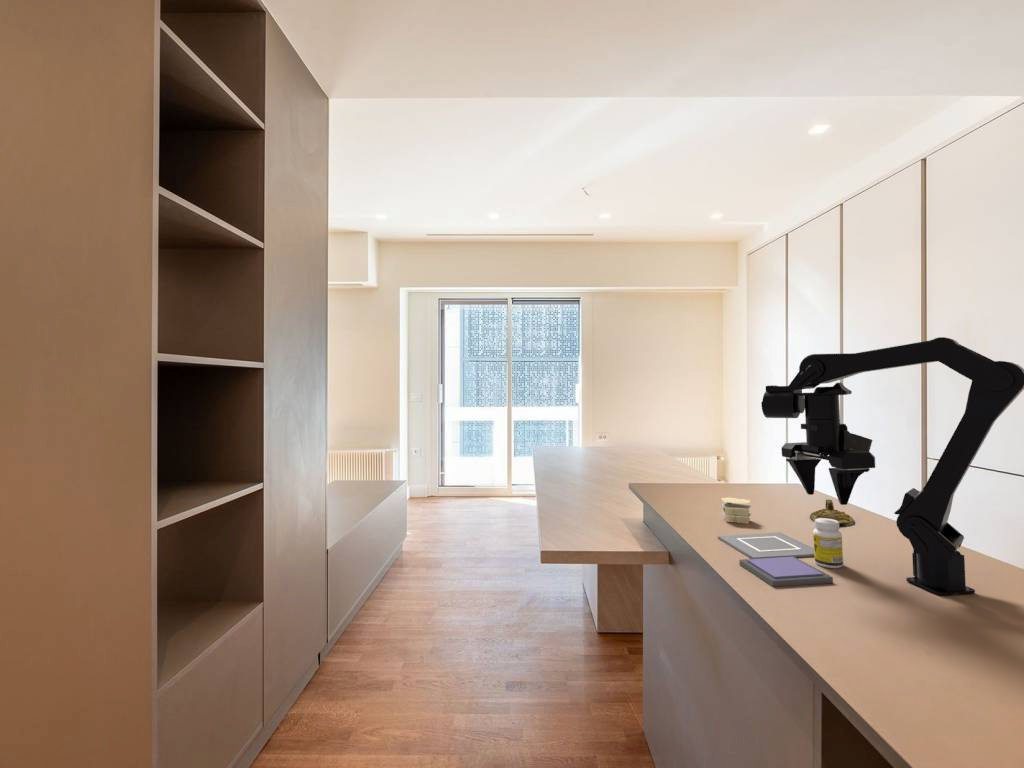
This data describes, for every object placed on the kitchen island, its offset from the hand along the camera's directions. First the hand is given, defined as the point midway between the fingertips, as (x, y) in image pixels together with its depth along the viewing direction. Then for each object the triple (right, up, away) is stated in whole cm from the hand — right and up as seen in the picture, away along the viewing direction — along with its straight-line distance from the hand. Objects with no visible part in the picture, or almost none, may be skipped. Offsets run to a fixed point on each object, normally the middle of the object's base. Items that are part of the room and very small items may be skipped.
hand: (826, 499), depth 96 cm
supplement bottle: (0, -13, 0) cm, 13 cm away
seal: (+20, -13, +30) cm, 39 cm away
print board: (-5, -13, +11) cm, 18 cm away
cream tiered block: (-3, -14, +33) cm, 35 cm away
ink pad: (-10, -13, -4) cm, 17 cm away
